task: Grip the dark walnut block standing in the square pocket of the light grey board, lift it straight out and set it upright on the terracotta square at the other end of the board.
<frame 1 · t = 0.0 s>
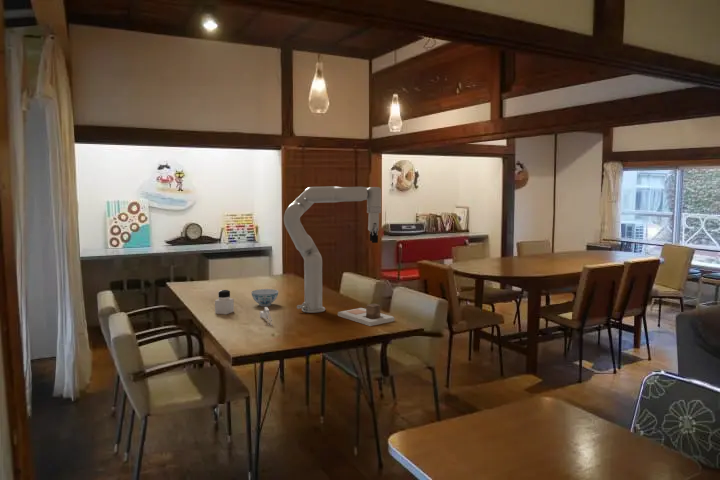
hand: (373, 241, 289), 37 cm above the table, tool pointing down, fingers open, 9 cm apart
chinaware: (265, 305, 303), on the table
llama figurine: (265, 322, 266), on the table
pocket board: (365, 318, 273), on the table
walnut block: (373, 320, 268), resting in pocket board
medicine bottle: (224, 313, 284), on the table
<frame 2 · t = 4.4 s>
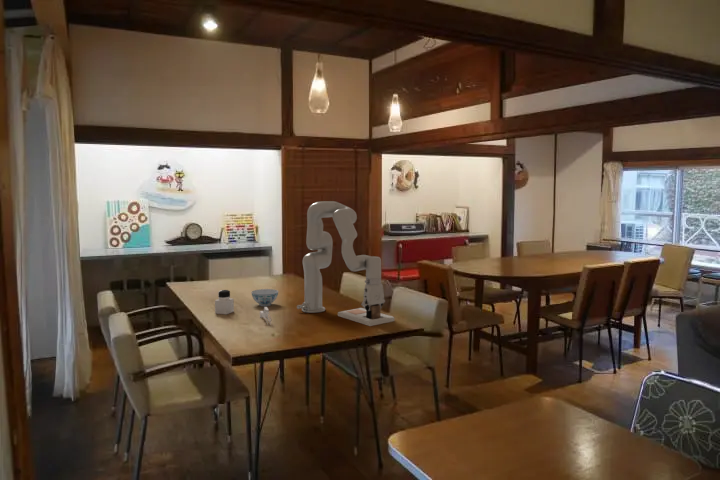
hand: (373, 316, 268), 2 cm above the table, tool pointing down, fingers closed on walnut block, 5 cm apart
walnut block: (373, 320, 268), resting in pocket board, touching gripper
everything else where it was.
when the fingers open (5 cm above the table, at t = 10.7 s): walnut block drops 1 cm, resting on pocket board.
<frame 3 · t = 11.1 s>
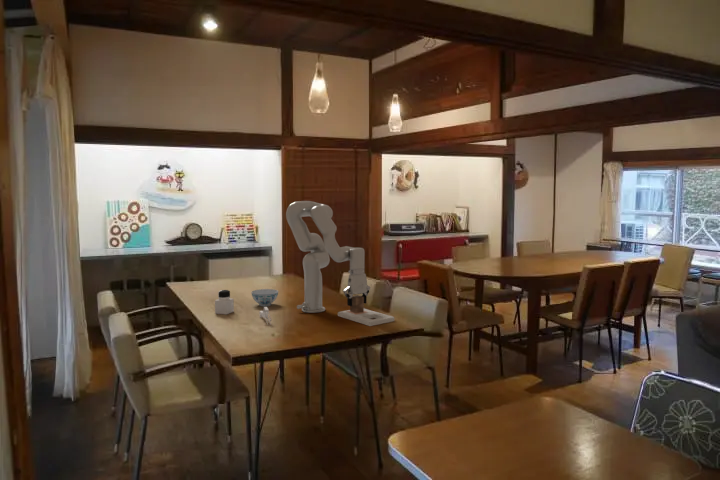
hand: (357, 304, 278), 6 cm above the table, tool pointing down, fingers open, 9 cm apart
walnut block: (356, 311, 278), point 2 cm above the table, touching pocket board
everything else where it was.
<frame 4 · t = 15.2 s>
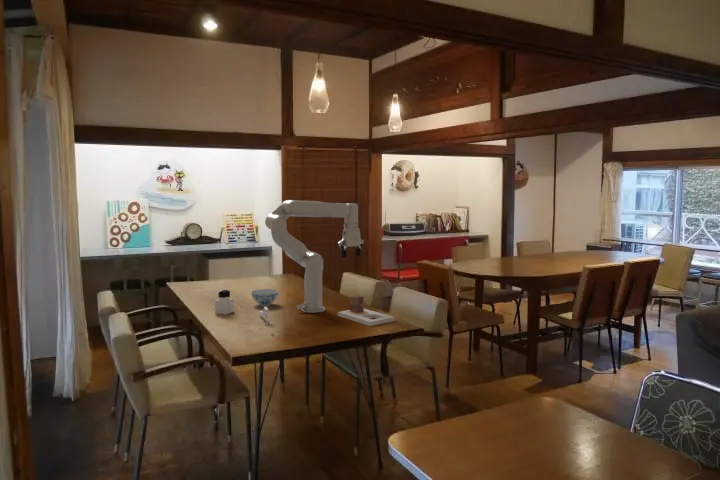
hand: (351, 256, 297), 28 cm above the table, tool pointing down, fingers open, 9 cm apart
at the end: walnut block 0.1 cm from the target spot on the pocket board, point 2.2 cm above the pocket board's base; walnut block tilted 0°; the gripper is holding nothing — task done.
